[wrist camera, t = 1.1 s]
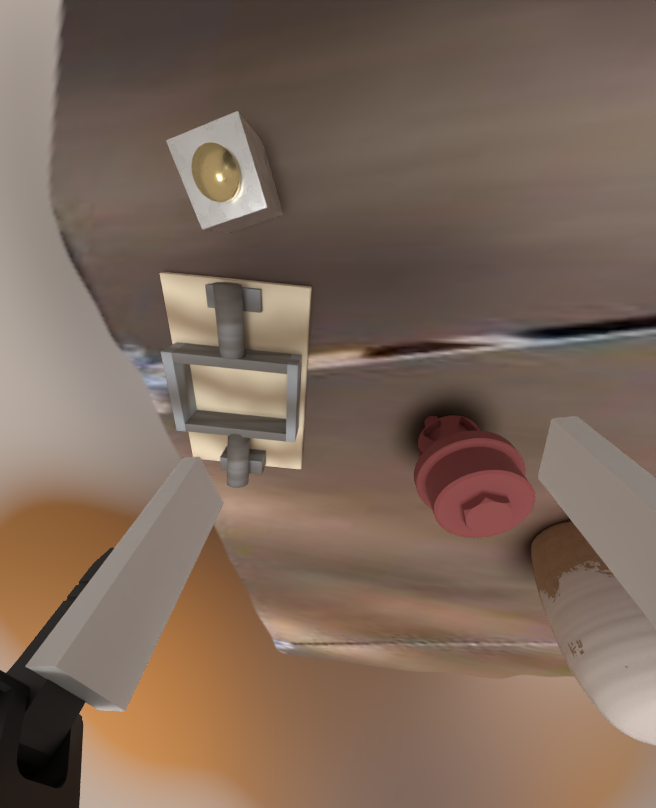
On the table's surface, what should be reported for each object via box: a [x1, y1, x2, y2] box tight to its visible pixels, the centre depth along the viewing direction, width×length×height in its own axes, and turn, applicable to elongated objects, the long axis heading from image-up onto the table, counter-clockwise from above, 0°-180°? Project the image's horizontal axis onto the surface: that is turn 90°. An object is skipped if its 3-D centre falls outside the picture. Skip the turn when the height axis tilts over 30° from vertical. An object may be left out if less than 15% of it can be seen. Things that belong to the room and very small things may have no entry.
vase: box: [531, 521, 656, 745], centre depth 33 cm, size 16×16×23 cm
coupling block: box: [166, 111, 283, 233], centre depth 21 cm, size 5×5×7 cm
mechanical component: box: [414, 415, 535, 538], centre depth 29 cm, size 12×10×10 cm
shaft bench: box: [160, 272, 312, 488], centre depth 30 cm, size 22×14×6 cm, turn 175°
